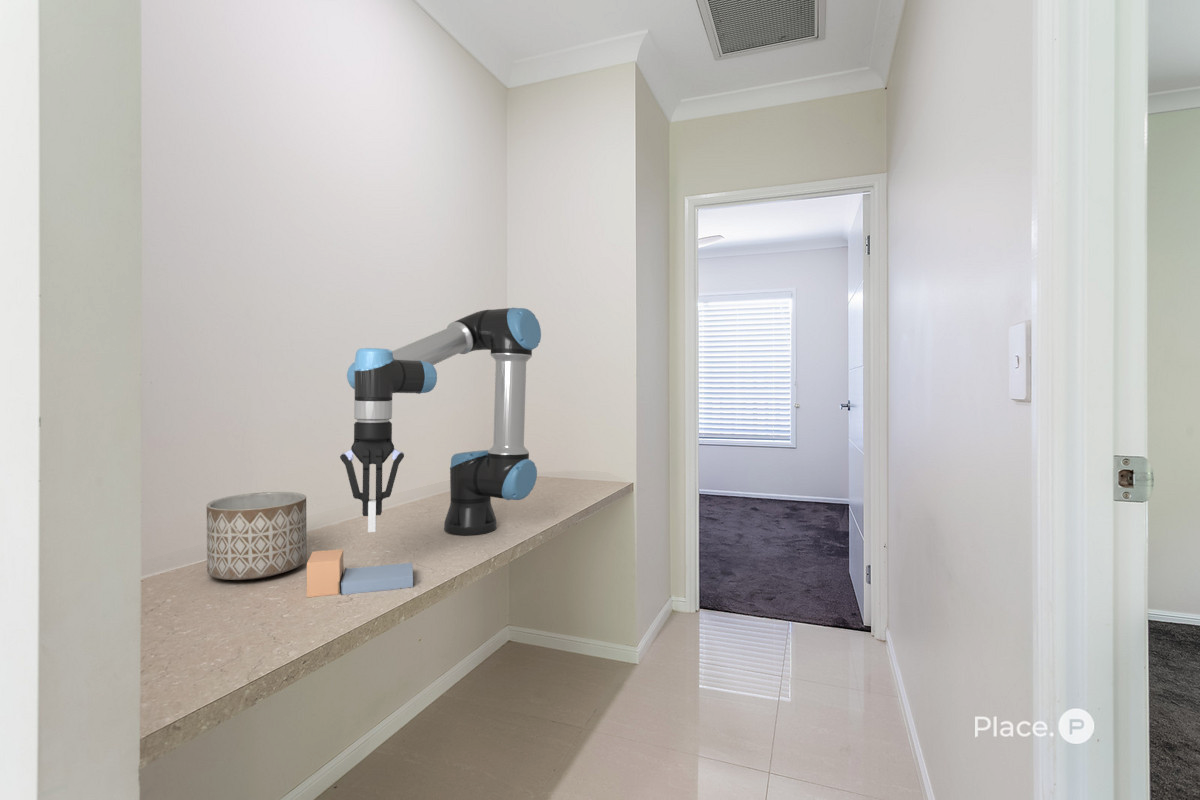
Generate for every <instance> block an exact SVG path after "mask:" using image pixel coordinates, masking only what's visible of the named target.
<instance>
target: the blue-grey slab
mask: <svg viewBox="0 0 1200 800" xmlns="http://www.w3.org/2000/svg"><path fill="white" fill-rule="evenodd" d="M413 584H414V573H413V562H405V563H395V564H394V563H393V564H383V565H372V566H362V567H349V568H346V567H344V569H343V577H342V580H341V591H340V595H341V596H342V595H352V594H363V593H371V592H380V591H388V590H389V591H392V590H400V588H402V589H408V588H407V587H411V588H413V587H414V585H413Z"/></svg>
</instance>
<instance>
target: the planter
mask: <svg viewBox="0 0 1200 800" xmlns="http://www.w3.org/2000/svg"><path fill="white" fill-rule="evenodd" d="M307 544H308V543H307V496H306V495H305V494H303V493H301V492H299V493H298V492H294V491H293V492H291V491H268V492H267V491H266V492H264V491H263V492H252V493H243V494H236V495H230V496H226V497H221V498H217V499H214V500H212V501H210V502H208V503H207V504H206V568H207V569H206V570H207V574H208V575H209V576H210V577H212V578H215V579H219V580H228V581H229V580H231V581H232V580H233V581H250V580H252V581H253V580H262V579H266V578H270V577H274V576H277V575H279V574H283V573H287V572H289V571H292V570H294V569H296V568H298V567H301V566H302V565H303V564H305V562H306V560H307V556H308V555H307V551H308V550H307V548H308V547H307Z"/></svg>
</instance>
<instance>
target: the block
mask: <svg viewBox="0 0 1200 800" xmlns="http://www.w3.org/2000/svg"><path fill="white" fill-rule="evenodd" d="M343 574H344V548H342V549H341V548H340V549H328V550H316V551H312V552H311V554H310V556H309V558H308V560H307V562H306V598H315V597H322V596H323V597H324V596H333V595H335V596H336V595H341V580H342V577H343Z"/></svg>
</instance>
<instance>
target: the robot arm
mask: <svg viewBox="0 0 1200 800" xmlns="http://www.w3.org/2000/svg"><path fill="white" fill-rule="evenodd" d="M541 338H542V330H541V325H540V321H539V320H538V318H537V317H536V315H535V314H534V313H533V312H532V310H530V309H528V308H526V307H525V308H524V307H509V308H508V307H507V308H498V309H483V310H480V311H476V312H473V313H471V314H469V315H468V314H467V315H466V316H464V317H461V318H459V319H457V320H454V321H452V322H450V323H449V324H448V325H447V327H446V328H444V329H443V330H439V331H438V332H435V333H433V334H431V335H428V336H425V337H424V338H421V339H419V340H415V341H414V342H411V343H408V344H405V345H404V346H401V347H399V348H396V349H394V350H391V349H389V348H376V347H373V348H372V347H363V348H359V349H357V350H356V352H355V357H354V362H353V363H351V364H350V366H349V367H348V369H347V372H346V373H347V374H346V380H347V382H348V384H349V386H350V387H351V388H352V389H353V390H354V401H353V403H354V407H353V408H354V409H353V410H354V412H353V414H354V415H353V418H354V420H356V421H355V423H353V427H354V428H353V443H352V444H351V449H349V450H348V451H346V452H342V453H341V454H340V456H339V458H340V460H341V461H342V463H343V464H344V466H345V470H346V473H347V474H346V475H347V477H348V481H349V486H350V489H351V493H352V496H353V499H355V500H360V501H361V502H362V509H361V510H362V517H367V533H376V532H377V516H381V515H382V513H383V500H384V499H387V498H390V497H391V495H392V491H393V488H394V483H395V480H396V477H397V472H398V469H399V465H400V463H401V461H403V459H404V457H405V453H404V452H403V451H399V449H396V448H395V445H394V443H393V439H392V438H393V431H392V430H393V423H392V422H391V421H390V420H392V419H393V394H416V395H417V394H418V395H420V394H425V393H430V392H431V391H432V390H434V389H435V387H436V385H437V382H438V376H437V375H438V373H437V370H436V368H435V365H437V364H439V363H441V362H443V361H445V360H447V359H449V358H452V357H453V356H456V355H458V354H460V355H466V354H469V353H470V352H475V351H486V350H487V351H489V350H490V356H491V358H493V360H494V361H495V374H494V376H495V378H494V379H495V380H494V414H493V417H494V418H493V445H492V446H491V448H490V449H483V450H473V451H465V452H458V453H454V454H453V455H452V456H451V458H450V467H449V470H450V471H449V474H450V476H449V478H450V481H449V482H450V483H449V484H450V486H449V487H450V490H449V491H450V502H449V503H450V504H449V507H448V509H447V510H448V511H447V514H446V516H445V519H444V523H443V524H444V525H443V529H444V532H445V533H448V534H452V535H456V536H457V535H458V536H476V535H483V534H487V533H490V532H493V531H495V530H496V529H497V519H496V518H497V517H496V515H495V511H494V509H493V506H492V503H491V501H492V499H491V498H496V499H497V498H498V499H502V500H507V501H521V500H524V499H526V497H528V496H529V495H530V494H531V492H532V490H533V489H534V488H535V485H536V482H537V476H538V469H537V466H536V463H535V462H534V461H533V460H532V459H530V451H529V450H528V449H527V448H526V447H525V421H526V417H525V415H526V383H527V380H526V379H527V363H528V361H529V360H530V359H531V358H532V356H533V350H535V349H536V348H537V347H538V346H539V343H541ZM391 455H392V460H393V462H392V464H391V469H390V473H389V476H388V480H387V484H386V488H385V490H384V491H383V464H384V463H385V462H386V461H387V460H388V458H389V457H390V456H391ZM354 456H355V458H356V459H357V460H358V461H359V462H360V463H361V464H362V492H361V491H360V487H359V484H358V478H357V475H356V471H355V468H354V467H355V466H354V464H353V461H354ZM371 465H375V499H374V498H372V499H371V498H370V476H371V475H370V473H371V472H370V469H371V467H370V466H371Z"/></svg>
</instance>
